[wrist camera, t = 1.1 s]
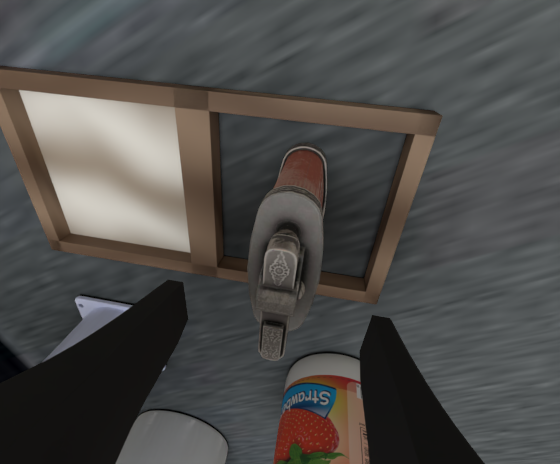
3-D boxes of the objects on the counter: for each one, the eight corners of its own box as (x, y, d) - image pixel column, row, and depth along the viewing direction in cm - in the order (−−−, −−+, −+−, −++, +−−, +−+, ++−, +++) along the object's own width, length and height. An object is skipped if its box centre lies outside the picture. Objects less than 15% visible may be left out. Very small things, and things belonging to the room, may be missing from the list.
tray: (374, 290, 22) (376, 304, 21) (66, 239, 25) (51, 249, 24) (433, 110, 16) (442, 115, 14) (0, 65, 18) (-25, 66, 17)
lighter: (280, 139, 18) (229, 216, 9) (336, 146, 17) (335, 233, 9) (271, 247, 22) (231, 367, 14) (316, 254, 22) (303, 382, 13)
